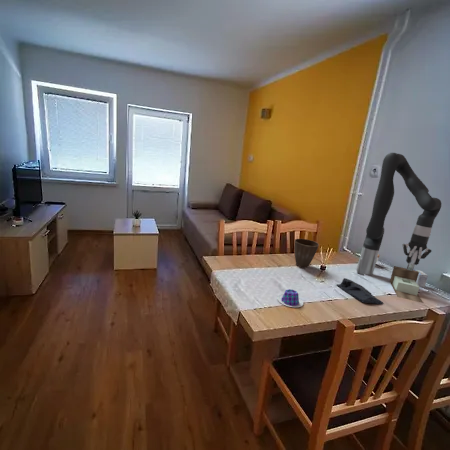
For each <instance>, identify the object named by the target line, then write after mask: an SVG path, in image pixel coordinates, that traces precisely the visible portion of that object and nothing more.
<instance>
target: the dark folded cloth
mask: <svg viewBox="0 0 450 450" xmlns="http://www.w3.org/2000/svg"><path fill="white" fill-rule="evenodd" d="M336 286H337V287H338V288H340V289H341V290H342V291H343V292H345V293H347V294H349V295H350V296H351V297H353V298H355V299H356V300H358V301H360V302H361V303H364V304H365V303H366V304H375V305H383V304H384V305H385V303H384V302H383V301H381V300H380V299H378V297H375V296H374V295H373V294H372V293H371V291H369V290H368V289H366V288H365V287H364V286H363V285H361V284H359V283H357V282H355V281H354V280H352V279H348V278H345V277H343V279H342V282H341V283H340V284H338V283H337V284H336Z"/></svg>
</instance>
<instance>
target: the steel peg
mask: <svg viewBox="0 0 450 450" xmlns="http://www.w3.org/2000/svg"><path fill="white" fill-rule="evenodd" d="M418 253H419V250H415V251H414V253H413V254H412V256H411V260H410V263H407V266H406V269H407V270H410V271H413V270H415V266H416V265H415V263H416V260H417V257H418Z"/></svg>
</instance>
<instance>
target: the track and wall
mask: <svg viewBox="0 0 450 450" xmlns="http://www.w3.org/2000/svg"><path fill="white" fill-rule="evenodd" d="M415 270H416V269H413V271H410V270H407V267H406V268H405V267H402V266H396V265H393V268H392V272H391V275H390V279H389V283H390V285H391V287H392V289H393V291H394V293H395V295H396V297H397V298H402V299H406V300H409V301H413V302H418V303H422V304H424V303H425V302H424V300H422V298H421V297H420V295H419V293H418V294H417V295H413V294H409V293H404V292H400V291H396V289H395V287H394V286H393V281H394V277H395V276H397V277H402V278H406V279H411V280H415V282H416V281H417V278H418V274H419V272H418V271H415Z"/></svg>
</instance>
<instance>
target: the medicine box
mask: <svg viewBox="0 0 450 450" xmlns="http://www.w3.org/2000/svg"><path fill="white" fill-rule="evenodd" d="M414 270H415V271H418V272H419V274H418V278H417V281H416V283H417V284H418V286H419V288H426V287H425V286H426V284H427V280H428V276H429V275H428V274H427V273H425V272H424V271H422V270H419V269H414Z"/></svg>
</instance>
